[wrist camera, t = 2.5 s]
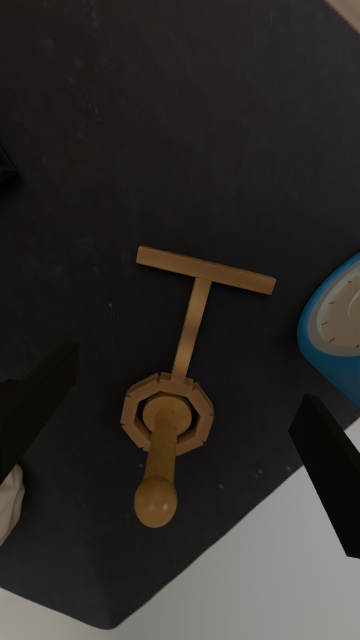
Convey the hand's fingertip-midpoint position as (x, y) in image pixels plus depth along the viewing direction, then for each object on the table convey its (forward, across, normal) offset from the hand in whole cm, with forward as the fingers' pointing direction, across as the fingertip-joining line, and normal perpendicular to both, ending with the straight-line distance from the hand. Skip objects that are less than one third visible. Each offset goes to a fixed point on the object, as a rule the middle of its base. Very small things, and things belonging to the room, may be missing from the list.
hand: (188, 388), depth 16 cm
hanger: (+11, 0, -5) cm, 12 cm away
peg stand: (+11, 0, -11) cm, 16 cm away
